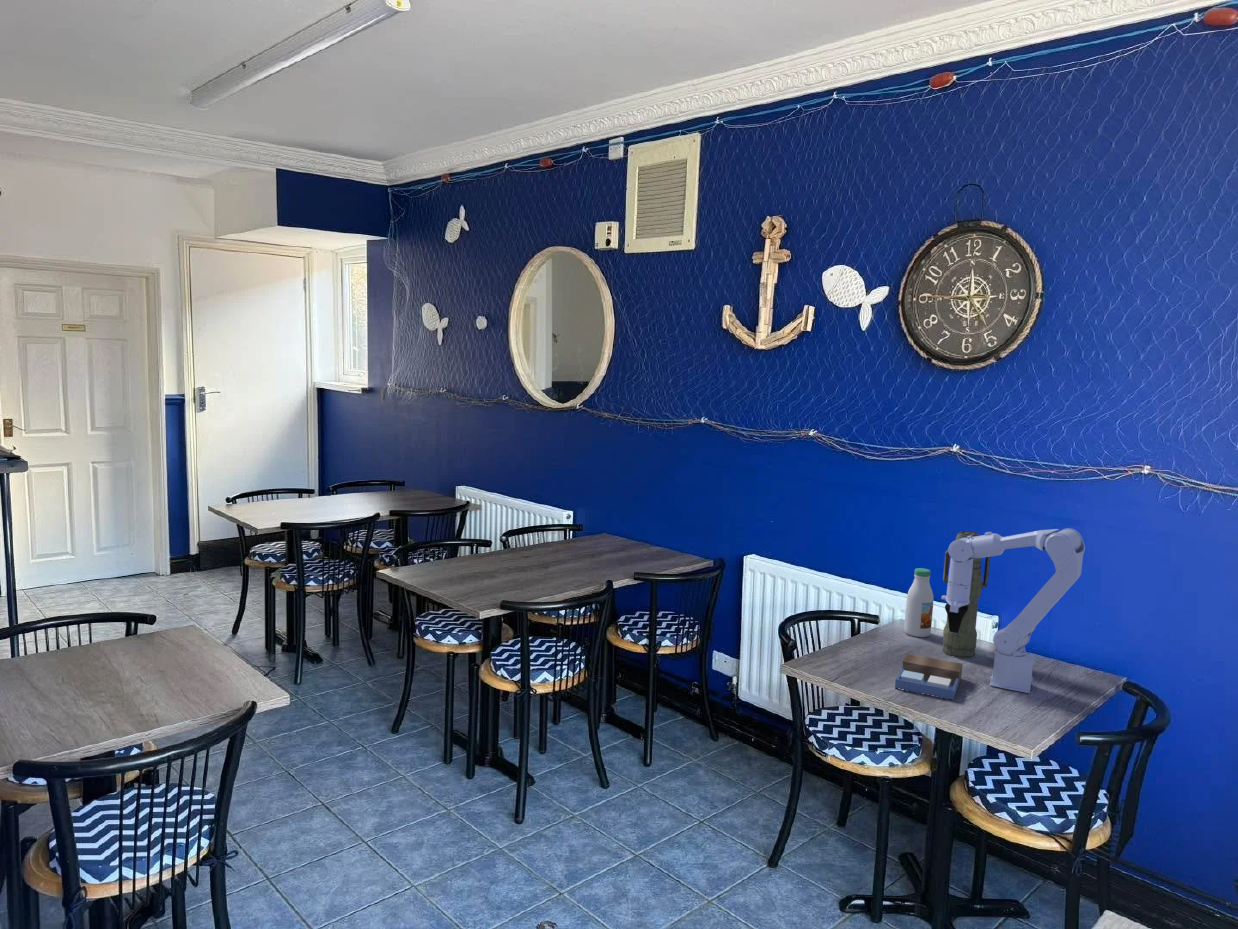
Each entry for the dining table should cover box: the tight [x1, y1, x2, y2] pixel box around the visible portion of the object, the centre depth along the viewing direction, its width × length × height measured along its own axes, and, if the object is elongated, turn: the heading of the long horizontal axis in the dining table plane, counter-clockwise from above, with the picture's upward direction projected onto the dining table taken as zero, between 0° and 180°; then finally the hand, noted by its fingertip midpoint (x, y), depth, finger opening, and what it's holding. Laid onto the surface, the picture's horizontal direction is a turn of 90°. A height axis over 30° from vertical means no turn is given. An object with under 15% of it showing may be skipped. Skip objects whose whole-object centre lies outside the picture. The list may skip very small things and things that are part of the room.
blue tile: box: [900, 670, 924, 684], centre depth 226 cm, size 5×5×2 cm
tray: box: [894, 667, 959, 701], centre depth 225 cm, size 14×10×2 cm
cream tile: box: [927, 675, 951, 689], centre depth 223 cm, size 5×5×2 cm
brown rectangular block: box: [901, 653, 963, 687], centre depth 233 cm, size 14×7×4 cm, turn 63°
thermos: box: [942, 530, 992, 659], centre depth 251 cm, size 9×12×35 cm
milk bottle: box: [903, 567, 934, 638], centre depth 268 cm, size 8×8×20 cm
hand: (953, 631), depth 239 cm, fingers closed
